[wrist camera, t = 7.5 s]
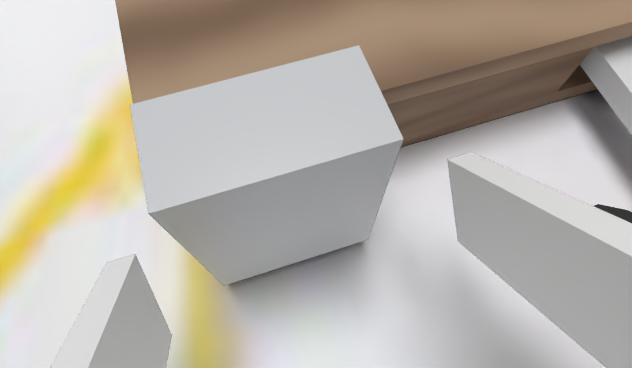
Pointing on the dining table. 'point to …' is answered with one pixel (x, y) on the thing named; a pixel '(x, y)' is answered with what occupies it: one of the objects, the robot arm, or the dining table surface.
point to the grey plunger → (269, 163)
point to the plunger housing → (382, 49)
